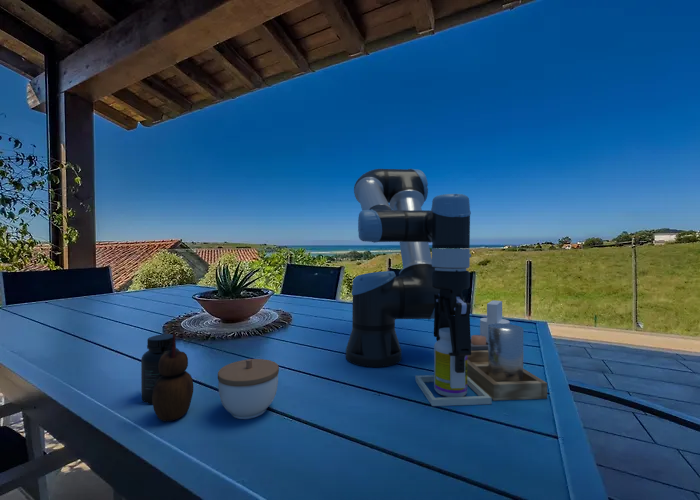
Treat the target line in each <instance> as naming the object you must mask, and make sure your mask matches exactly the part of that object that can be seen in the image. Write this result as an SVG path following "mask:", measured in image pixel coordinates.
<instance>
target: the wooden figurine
mask: <svg viewBox="0 0 700 500" xmlns="http://www.w3.org/2000/svg"><path fill="white" fill-rule="evenodd" d="M175 333H176V332H175V329H173V330H172V335H173V341H172V352H168V353H166V354H164V355H162V356H161V358H160V360H159V365H158V368H159V373H160V374H161V375H162V376H161V377H159V379H158V380H157V382H156V383H155V386H154V389H153V394H152V403H153V404H152V408H153V410H154V414H155V415H156V417H157V418H158V419H159V420H161V421H162V422H171V421H175V420H176V421H177V419H180V418H182V417H183V416H184V415H185V414H187V412H188V410H189V409H190V406H191V402H192V399H193V395H194V381H193V378H192V375H191V374H190V373H189V372H188V371H187V369H188V366H189V359H188V358H189V357H188V355H187V354H186V352H184V351H182V350H179V351H176V348H177V345H176V344H177V343H176V334H175Z"/></svg>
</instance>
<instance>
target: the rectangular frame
mask: <svg viewBox="0 0 700 500" xmlns="http://www.w3.org/2000/svg"><path fill="white" fill-rule="evenodd" d="M415 382H416V384H417V386H418V387H419V389H420V390H421V391H422V393H423V395H424V396H425V397H426V399H427V400H428V402H429V404H430V405H431V407H444V406H445V407H446V406H447V407H449V406H474V405H476V406H477V405H492V401H493V399H492V398H491V397H490V396H489V395H488V394H487V393H486V392H485V391H483V390H482V389H481V388H480V387H479V386H478V385H477V384H476V383H475V382H473V381H472V380H471V379H470V378H469V377H468V376H467V387H469V388H470V389H471V390H472V391H473V392H475V394H476V395H477V396H476V395H475V396H463V397H446V396H443V397H435V396H434V394H433V393H432V392H431V390H430V389H429V387H428V386H427V385H426V383H434V374H432V375H431V374H429V375H415Z"/></svg>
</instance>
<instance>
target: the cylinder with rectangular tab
mask: <svg viewBox="0 0 700 500" xmlns="http://www.w3.org/2000/svg"><path fill="white" fill-rule="evenodd" d="M479 322H480V323H479V335H481V336H485V337H486V340H488V325H489V324H495V323H502V324H511V323H510V320H508V319H504V318H503V300H502V301H501V300H494V299H493V300H491V301H489V302H488V303H486V317H481V318H480V319H479Z"/></svg>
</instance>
